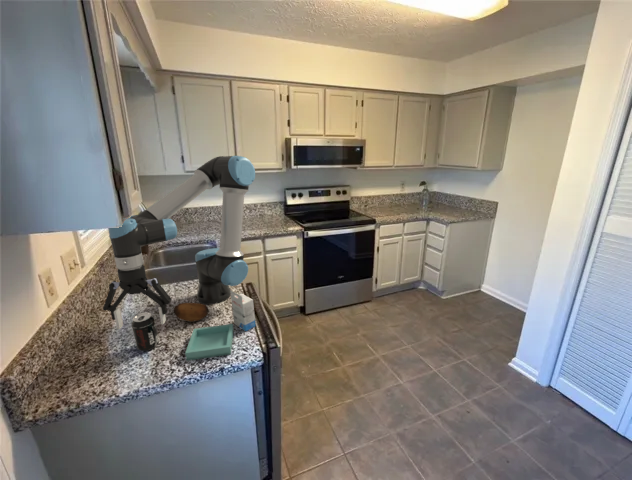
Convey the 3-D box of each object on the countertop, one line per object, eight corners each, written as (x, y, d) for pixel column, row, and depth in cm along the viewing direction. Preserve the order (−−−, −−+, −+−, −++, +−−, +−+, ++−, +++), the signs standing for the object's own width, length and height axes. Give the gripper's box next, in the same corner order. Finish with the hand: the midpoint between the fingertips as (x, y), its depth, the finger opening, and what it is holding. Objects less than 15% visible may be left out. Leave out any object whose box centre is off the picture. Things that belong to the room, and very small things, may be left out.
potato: (207, 323, 122) (207, 321, 115) (172, 321, 118) (170, 320, 111) (209, 304, 125) (210, 302, 118) (175, 303, 120) (173, 300, 113)
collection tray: (195, 335, 108) (193, 328, 108) (233, 330, 111) (232, 323, 110) (186, 360, 95) (185, 353, 94) (230, 354, 98) (229, 346, 97)
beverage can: (133, 353, 99) (126, 323, 96) (143, 341, 106) (136, 312, 102) (154, 352, 100) (147, 321, 96) (162, 340, 106) (156, 310, 103)
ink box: (256, 326, 113) (253, 292, 109) (245, 332, 110) (241, 297, 106) (244, 318, 119) (240, 285, 115) (233, 323, 116) (229, 290, 111)
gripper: (80, 274, 88) (96, 335, 94) (168, 267, 93) (178, 326, 99) (93, 265, 95) (107, 322, 101) (175, 259, 100) (183, 314, 106)
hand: (142, 324), depth 100 cm, fingers open, 13 cm apart
